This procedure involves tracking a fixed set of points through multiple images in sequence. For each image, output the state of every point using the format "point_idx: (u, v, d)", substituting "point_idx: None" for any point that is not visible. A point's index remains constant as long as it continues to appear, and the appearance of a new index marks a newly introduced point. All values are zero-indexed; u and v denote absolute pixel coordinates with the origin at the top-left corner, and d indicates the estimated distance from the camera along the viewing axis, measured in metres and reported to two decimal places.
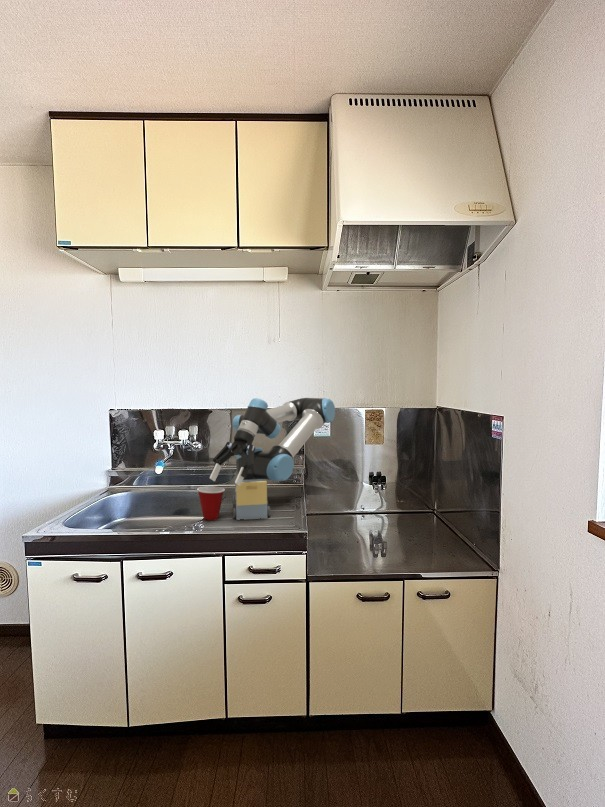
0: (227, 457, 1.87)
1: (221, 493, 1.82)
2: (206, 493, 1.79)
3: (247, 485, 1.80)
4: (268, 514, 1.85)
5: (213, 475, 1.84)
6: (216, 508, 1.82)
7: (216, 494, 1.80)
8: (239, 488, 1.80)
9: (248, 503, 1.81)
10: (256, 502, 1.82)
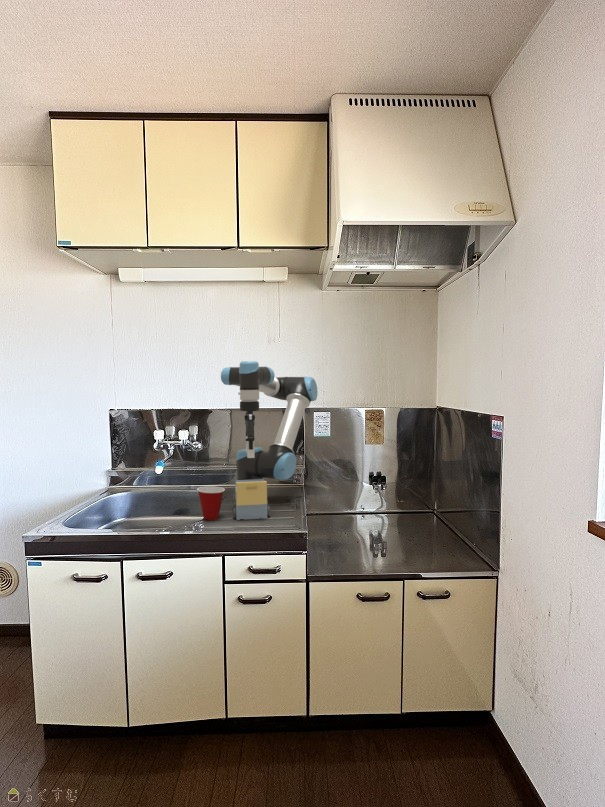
0: None
1: (221, 493, 1.82)
2: (206, 493, 1.79)
3: (247, 485, 1.80)
4: (268, 514, 1.85)
5: None
6: (216, 508, 1.82)
7: (216, 494, 1.80)
8: (239, 488, 1.80)
9: (248, 503, 1.81)
10: (256, 502, 1.82)
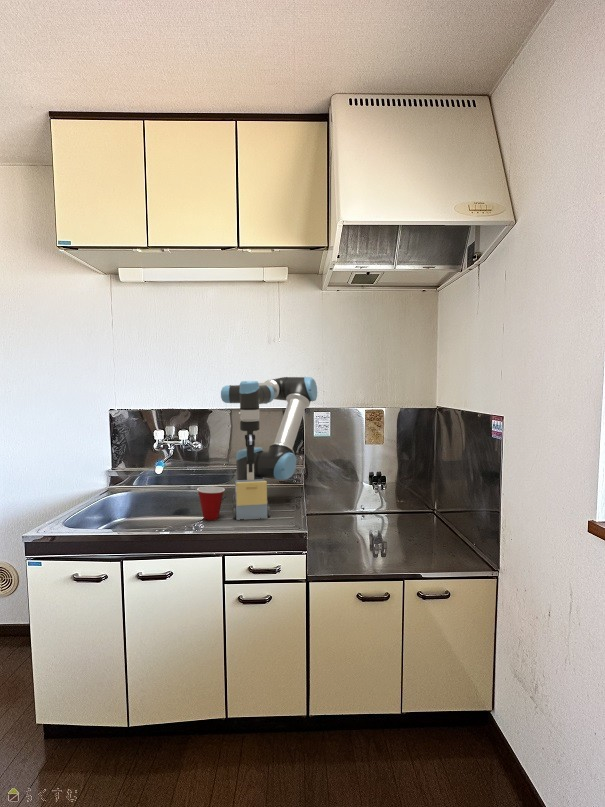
0: None
1: (221, 493, 1.82)
2: (206, 493, 1.79)
3: (247, 485, 1.80)
4: (268, 514, 1.85)
5: None
6: (216, 508, 1.82)
7: (216, 494, 1.80)
8: (239, 488, 1.80)
9: (248, 503, 1.81)
10: (256, 502, 1.82)
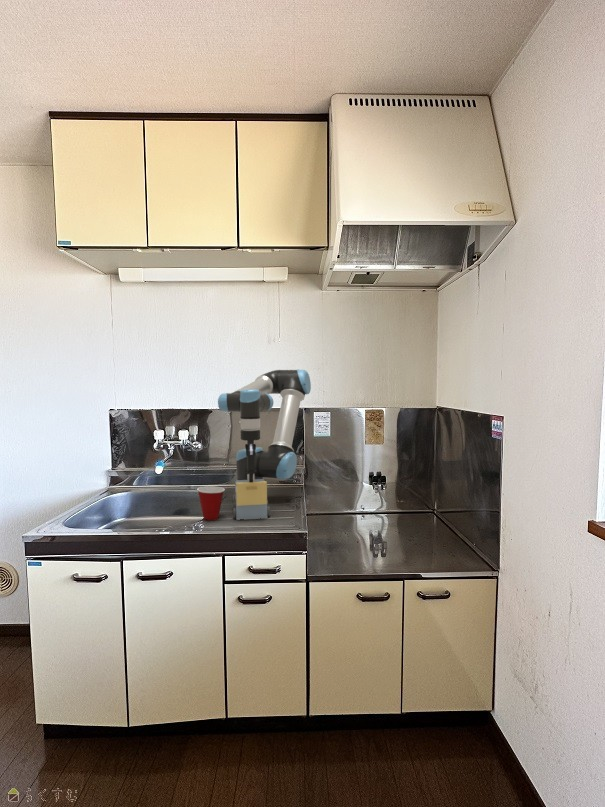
0: None
1: (221, 493, 1.82)
2: (206, 493, 1.79)
3: (247, 485, 1.80)
4: (268, 514, 1.85)
5: None
6: (216, 508, 1.82)
7: (216, 494, 1.80)
8: (239, 488, 1.80)
9: (248, 503, 1.81)
10: (256, 502, 1.82)
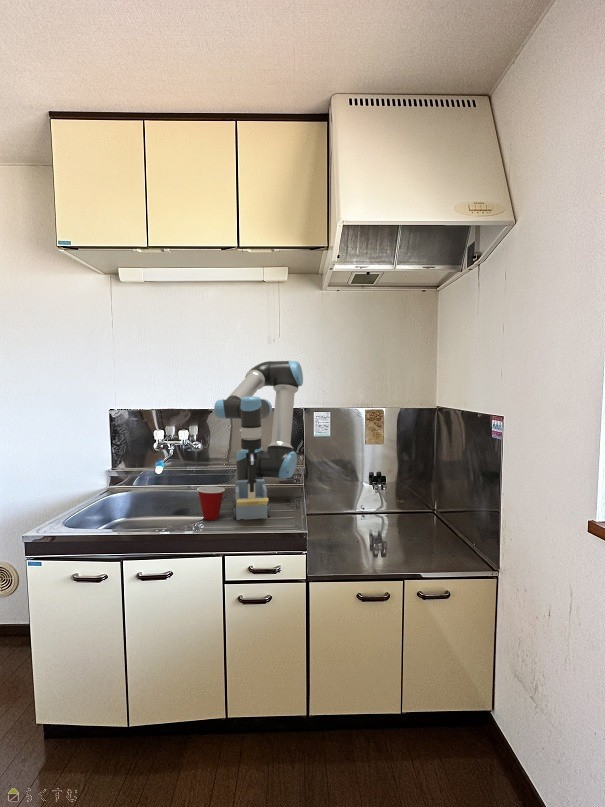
0: None
1: (221, 493, 1.82)
2: (206, 493, 1.79)
3: (248, 502, 1.74)
4: (268, 514, 1.85)
5: (250, 495, 1.77)
6: (216, 508, 1.82)
7: (216, 494, 1.80)
8: (239, 503, 1.75)
9: (248, 505, 1.81)
10: (256, 505, 1.81)
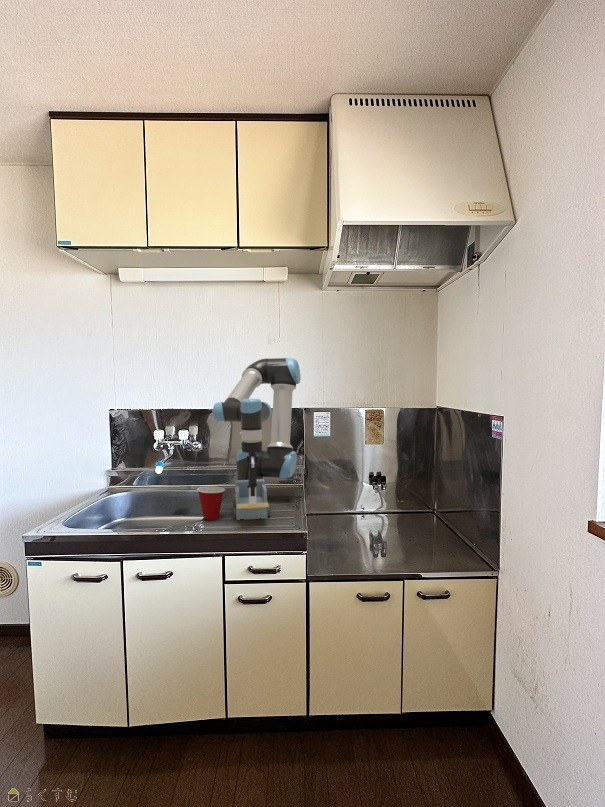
0: None
1: (221, 493, 1.82)
2: (206, 493, 1.79)
3: None
4: (268, 514, 1.85)
5: None
6: (216, 508, 1.82)
7: (216, 494, 1.80)
8: None
9: None
10: None
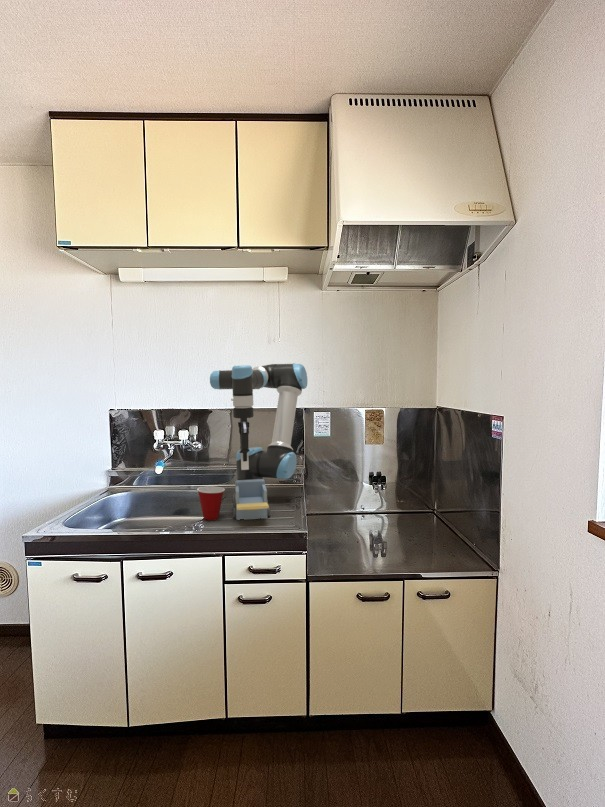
0: None
1: (221, 493, 1.82)
2: (206, 493, 1.79)
3: (248, 508, 1.74)
4: (268, 514, 1.85)
5: None
6: (216, 508, 1.82)
7: (216, 494, 1.80)
8: None
9: None
10: None
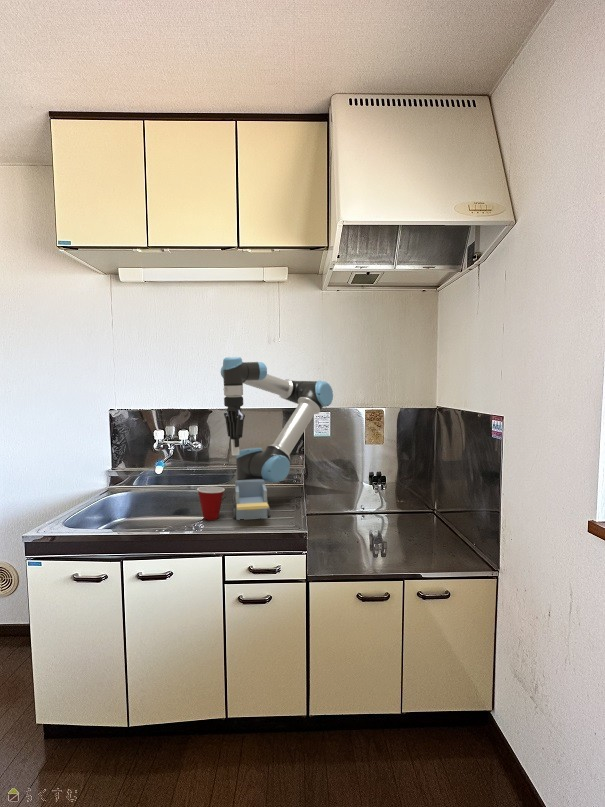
0: None
1: (221, 493, 1.82)
2: (206, 493, 1.79)
3: (248, 508, 1.74)
4: (268, 514, 1.85)
5: None
6: (216, 508, 1.82)
7: (216, 494, 1.80)
8: None
9: None
10: None
